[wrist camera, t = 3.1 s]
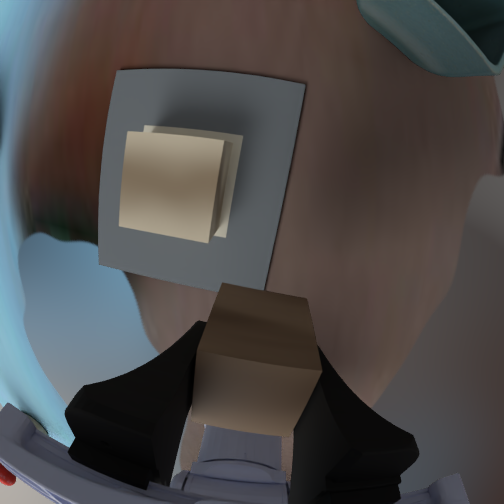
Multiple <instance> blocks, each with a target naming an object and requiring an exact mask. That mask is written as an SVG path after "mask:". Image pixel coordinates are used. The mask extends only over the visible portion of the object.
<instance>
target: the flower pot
mask: <svg viewBox="0 0 504 504" xmlns="http://www.w3.org/2000/svg"><path fill="white" fill-rule="evenodd" d="M357 5H358V8H359V11H360V13H361V15H362V16H363V18H364V19H365V20H366V22H367V23H368V24H369V25H370V26H371V27H373V28H374V29H375V30H377V31H378V32H379V33H380V34H382V35H383V36H384V37H385V38H386V39H388V40H389V41H390V42H391V43H392V44H394V45H395V46H396V47H397V48H398V49H399V50H400V51H401V52H402V53H403V54H405V55H406V56H407V57H408V58H409V59H410V60H411V61H412V62H413V63H415V64H416V65H418V66H420V67H421V68H423V69H425V70H427V71H429V72H431V73H434V74H437V75H440V76H446V77H466V76H489V75H500V74H501V72H502V70H503V68H504V0H357Z"/></svg>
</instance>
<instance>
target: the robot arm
mask: <svg viewBox="0 0 504 504" xmlns="http://www.w3.org/2000/svg"><path fill="white" fill-rule="evenodd" d="M206 324H207V322H203V321H197V322H196V323H195V324H194V325H193V326H192V327H191V328H190V329H189V330H188V331H187V332H186V333H185V334H184V335H183V336H182V337H181V338H180V339H179V340H178V341H176V342H175V343H174V344H173V345H172V346H171V347H169V348H168V349H167V350H165V351H164V352H163V353H161V354H160V355H158V356H157V357H155V358H154V359H152V360H151V361H149V362H147V363H146V364H144V365H142V366H140V367H138V368H136V369H134V370H132V371H130V372H128V373H126V374H123V375H120V376H118V377H115V378H112V379H109V380H106V381H102V382H98V383H93V384H89V385H84V386H83V387H82V388H81V389H80V390H79V391H78V392H77V394H76V395H75V396H74V398H73V400H72V401H71V402H70V404H69V405H68V407H67V408H66V410H65V417H66V420H67V423H68V425H69V427H70V428H71V430H72V432H73V434H74V436H75V439H74V441H73V443H72V445H71V446H70V448H69V447H67V446H65V445H63V444H62V443H60V442H58V441H56V440H54V439H53V438H51V437H49V436H48V435H46V434H44V433H43V432H41V431H39V430H38V429H36V426H35V424H34V423H33V421H32V420H31V419H30V418H29V417H28V416H27V415H26V414H24V413H23V412H21V411H20V410H19V409H17V408H16V407H14V406H13V405H12V404H10V403H7V404H6V405H5V406H4V407H3V409H2V410H1V411H0V463H1V464H2V465H3V466H4V467H5V468H6V469H7V470H9V471H10V472H11V473H12V474H14V475H15V476H16V477H18V478H19V479H20V480H22V481H23V482H25V483H26V484H27V485H29V486H30V487H32V488H33V489H35V490H36V491H37V492H39V493H40V494H42V495H44V496H45V497H46V498H48V499H49V500H51V501H53V502H55V503H56V504H470V503H469V500H468V497H467V494H466V491H465V489H464V485H463V483H462V480H461V477H460V475H459V473H455V474H452V475H449V476H446V477H443V478H440V479H439V480H437V481H435V482H434V483H432V484H431V485H430V486H429V487H428V488H424V489H421V490H417V491H413V492H408V493H404V494H400V491H399V487H398V484H400V483H401V477H400V475H401V474H402V473H403V472H404V471H405V470H407V468H409V467H410V466H411V465H412V464H413V463H414V462H415V461H416V460H417V458H418V456H419V449H418V447H417V444H416V441H415V438H414V436H413V435H412V434H410V433H408V432H406V431H404V430H402V429H400V428H398V427H397V426H395V425H393V424H392V423H390V422H388V421H387V420H386V419H384V418H382V417H381V416H380V415H378V414H377V413H376V412H374V411H373V410H372V409H371V408H370V407H368V406H367V405H366V404H365V403H364V402H363V401H362V400H361V399H360V398H359V397H358V396H357V395H356V394H355V393H354V392H353V391H352V390H351V389H350V388H349V387H348V386H347V385H346V384H345V382H344V381H343V380H342V379H341V377H340V376H339V375H338V374H337V372H336V371H335V370H334V368H333V367H332V365H331V364H330V363H329V361H328V360H327V358H326V357H325V355H324V354H323V352H322V351H321V349H320V348H319V346H318V345H317V347H318V352H319V357H320V362H321V367H322V373H321V375H320V377H319V379H318V382H317V384H316V386H315V388H314V390H313V392H312V394H311V396H310V398H309V400H308V402H307V404H306V406H305V408H304V410H303V412H302V414H301V416H300V418H299V420H298V422H297V424H296V425H295V427H294V429H293V430H294V444H293V462H292V474H291V481H286V472H285V471H281V436H273V435H264V434H257V433H249V432H243V431H237V430H231V429H225V428H220V427H215V426H210V425H206V424H205V425H204V427H205V431H204V435H203V439H202V444H201V448H200V452H199V456H198V461H197V462H193V463H192V467H191V471H187V470H182V471H181V472H180V473H179V474H177V475H175V476H174V477H173V479H172V481H171V478H172V473H173V469H174V465H175V460H176V456H177V452H178V448H179V444H180V440H181V436H182V433H183V429H184V425H185V421H186V418H187V415H188V412H189V410H190V407H191V405H192V399H193V387H194V376H195V365H196V354H197V348H198V346H199V343H200V340H201V337H202V335H203V332H204V329H205V327H206ZM170 482H171V483H170Z"/></svg>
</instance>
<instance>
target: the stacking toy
mask: <svg viewBox="0 0 504 504" xmlns="http://www.w3.org/2000/svg"><path fill="white" fill-rule="evenodd" d="M24 414H25V413H24ZM26 415H27V414H26ZM27 416H28V417H29V418H30V419H31V420H32V421H33V423H34V424H35V426H36V429H38V430H39V431H41V432H43V433H44V434H46V435H47V433H46V431H45V430H44V428H43V427H42V426H41V425H40V424H39V423H38V422H37V421H36V420H34V419H33V418H32V417H30V416H29V415H27ZM0 482H1V483H3V484H5V485H8V486H11V485H13V484H14V483H15V482H16V476H15V475H14V474H12V473H11V472H10V471H9V470H7V469H6V468H5V467H4V466H3V465H2V464H1V463H0Z"/></svg>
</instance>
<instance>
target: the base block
mask: <svg viewBox="0 0 504 504" xmlns="http://www.w3.org/2000/svg"><path fill="white" fill-rule="evenodd" d="M232 145H233V143H231V142H228V141H225V140H218V139H211V138H203V137H194V136H185V135H175V134H164V133H151V132H134V131H128V132H127V139H126V146H125V154H124V162H123V172H122V182H121V195H120V211H119V226H120V227H125V228H130V229H136V230H141V231H146V232H151V233H156V234H162V235H167V236H172V237H177V238H182V239H188V240H193V241H198V242H203V243H209V242H210V240H211V239H212V237H213V236H214V234H215V233H216V231H217V230H218V229H219V223H220V217H221V210H222V204H223V198H224V192H225V185H226V179H227V173H228V168H229V162H230V156H231V150H232Z"/></svg>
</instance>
